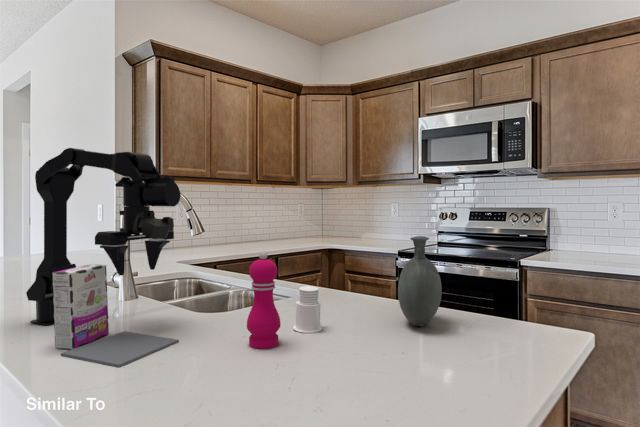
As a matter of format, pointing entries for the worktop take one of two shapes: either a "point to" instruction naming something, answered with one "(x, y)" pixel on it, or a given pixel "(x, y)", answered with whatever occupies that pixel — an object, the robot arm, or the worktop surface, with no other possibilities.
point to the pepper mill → (263, 305)
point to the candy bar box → (80, 305)
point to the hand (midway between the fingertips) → (137, 272)
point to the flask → (419, 286)
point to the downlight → (308, 311)
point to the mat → (120, 348)
